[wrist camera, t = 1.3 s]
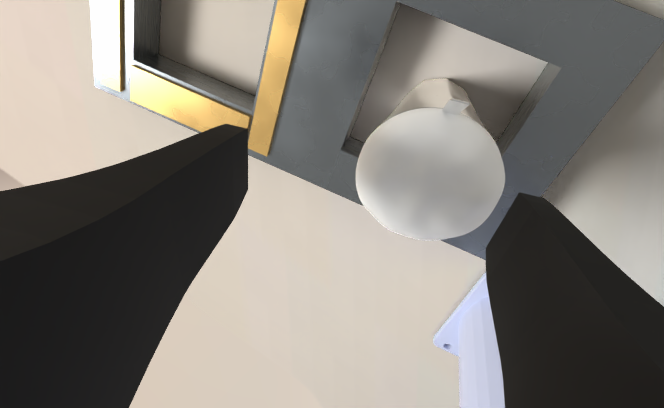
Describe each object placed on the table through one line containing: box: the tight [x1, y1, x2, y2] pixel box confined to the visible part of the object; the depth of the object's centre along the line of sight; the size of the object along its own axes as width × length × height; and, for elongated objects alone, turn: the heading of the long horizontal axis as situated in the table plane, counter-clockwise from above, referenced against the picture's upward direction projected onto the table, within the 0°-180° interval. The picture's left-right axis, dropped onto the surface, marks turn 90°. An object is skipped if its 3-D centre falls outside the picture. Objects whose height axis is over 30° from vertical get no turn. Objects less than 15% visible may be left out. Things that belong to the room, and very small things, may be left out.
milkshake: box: [356, 78, 505, 241], centre depth 14 cm, size 4×5×10 cm
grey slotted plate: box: [90, 0, 664, 260], centre depth 18 cm, size 24×12×2 cm, turn 71°
